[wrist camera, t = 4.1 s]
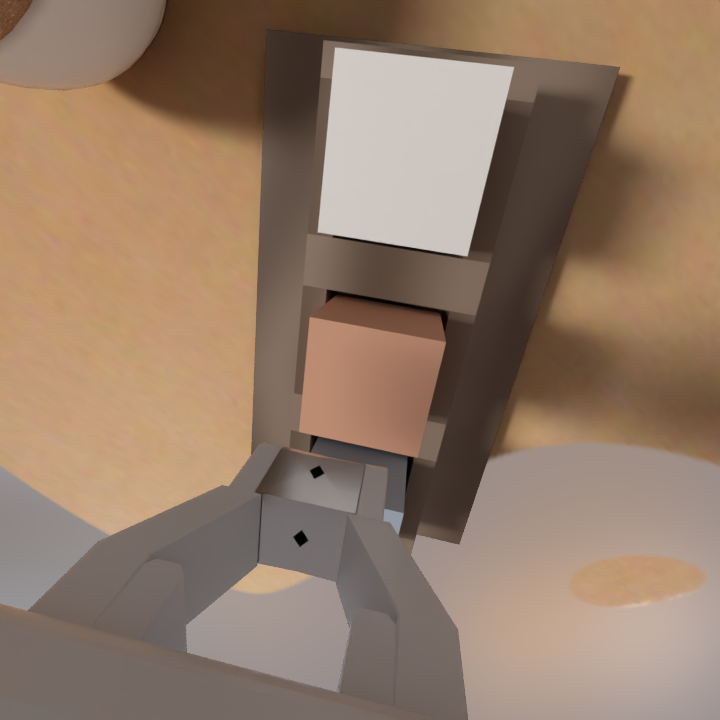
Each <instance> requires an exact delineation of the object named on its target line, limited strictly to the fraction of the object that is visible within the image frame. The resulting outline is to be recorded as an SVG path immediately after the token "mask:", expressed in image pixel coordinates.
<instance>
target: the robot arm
mask: <svg viewBox="0 0 720 720" xmlns="http://www.w3.org/2000/svg"><path fill="white" fill-rule="evenodd" d="M364 471H365V472H364ZM387 479H388V469H387V468H385V467H380V466H374V465H369V464H366V467H365V465H364V464H360V463H355V462H350V461H345V460H340V459H335V458H330V457H325V456H323V455H318V454H314V453H310V452H306V451H301V450H297V449H293V448H288V447H282V446H279V445H275V444H270V443H265V442H263V443H261V444H259V445H258V447H257V448H256V449H255V451H254V452H253V454H252V455H251V456H250V458H249V459H248V461H247V462H246V463H245V465H244V466H243V467H242V469H241V470H240V472H239V473H238V474H237V476H236V477H235V479H234V480H233V481H232V483H231V484H230V485H229V487H228V486H223V485H222V486H220V487H217V488H215V489H213V490H211V491H208V492H206V493H204V494H202V495H200V496H197V497H195V498H193V499H191V500H189V501H186V502H184V503H182V504H180V505H178V506H175V507H173V508H171V509H169V510H166V511H164V512H162V513H160V514H158V515H155V516H153V517H151V518H149V519H147V520H144V521H142V522H140V523H138V524H136V525H133V526H131V527H129V528H127V529H124V530H122V531H120V532H118V533H116V534H113V535H111V536H109V537H107V538H105V539H102V540H100V541H98V542H97V543H96V544H95V545H94V546H93V547H92V548H91V549H90V550H89V551H88V552H87V553H86V554H85V555H84V556H83V557H82V558H81V559H80V560H79V561H78V562H77V563H76V564H75V565H74V566H73V567H72V568H71V569H70V570H69V571H68V572H67V573H66V574H64V576H62V577H61V578H60V580H59V581H57V582H56V584H54V585H53V586H52V587H51V588H50V589H49V590H48V591H47V592H46V593H45V594H44V595H43V596H42V597H41V598H40V599H39V600H38V601H37V602H36V603H35V604H34V605H33V606H32V607H31V608H30V609H29V610H28V611H26V610H22V609H18V608H15V607H11V606H7V605H3V604H0V720H468V714H467V706H466V697H465V688H464V680H463V670H462V661H461V654H460V653H461V652H460V643H459V635H458V629H457V627H456V626H455V624H454V623H453V621H452V619H451V618H450V616H449V615H448V613H447V611H446V610H445V609H444V607H443V605H442V604H441V602H440V600H439V599H438V597H437V596H436V594H435V593H434V591H433V589H432V588H431V586H430V585H429V583H428V582H427V580H426V578H425V577H424V575H423V574H422V572H421V571H420V569H419V567H418V566H417V564H416V563H415V561H414V560H413V558H412V556H411V555H410V553H409V552H408V550H407V548H406V547H405V545H404V544H403V542H402V541H401V539H400V537H399V536H398V534H397V533H396V531H395V530H394V528H393V526H392V525H391V523H390V522H386V521H383V518H384V509H385V499H386V489H387ZM257 563H259V564H264V565H269V566H274V567H279V568H283V569H288V570H293V571H298V572H301V573H305V574H309V575H313V576H316V577H320V578H324V579H327V580H331V581H335V582H336V585H337V589H338V592H339V596H340V599H341V602H342V605H343V608H344V611H345V615H346V618H347V621H348V624H349V628H350V631H349V636H348V641H347V646H346V651H345V655H344V660H343V665H342V670H341V674H340V679H339V684H338V689H337V692H335V691H331V690H327V689H323V688H319V687H316V686H311V685H308V684H304V683H300V682H296V681H293V680H289V679H285V678H281V677H277V676H273V675H270V674H266V673H262V672H258V671H255V670H251V669H247V668H243V667H239V666H236V665H232V664H227V663H224V662H220V661H216V660H212V659H208V658H205V657H201V656H197V655H194V654H190V653H187V648H186V647H187V645H186V625H187V624H188V623H189V622H190V621H191V620H193V619H194V618H195V617H196V616H197V615H199V614H200V613H201V612H202V611H203V610H205V609H206V608H207V607H208V606H209V605H211V604H212V603H213V602H214V601H215V600H217V599H218V598H219V597H220V596H221V595H223V594H224V593H225V592H226V591H227V590H229V589H230V588H231V587H232V586H233V585H235V584H236V583H237V582H238V581H239V580H241V579H242V578H243V577H244V576H245V575H247V574H248V573H249V572H250V571H251V570H253V569H254V568H255V567H256V566H257Z"/></svg>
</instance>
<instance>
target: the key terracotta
mask: <svg viewBox="0 0 720 720" xmlns="http://www.w3.org/2000/svg"><path fill="white" fill-rule="evenodd" d="M445 345H446V339H445V334H444V330H443V325H442V320H441V315H440V313H437V312H431V311H426V310H420V309H414V308H409V307H403V306H398V305H392V304H386V303H381V302H375V301H369V300H364V299H358V298H353V297H347V296H341V295H336V296H335V297H333V298H332V299H331V300H330V301H329V302H327V303H326V304H325V305H324V306H322V307H321V308H320V309H319V310H318V311H316V312H315V313H314V314H313V315H311V316H310V319H309V330H308V341H307V351H306V362H305V373H304V383H303V394H302V405H301V415H300V426H299V432H301V433H306V434H310V435H315V436H320V437H324V438H329V439H333V440H338V441H343V442H347V443H352V444H356V445H361V446H365V447H370V448H375V449H379V450H384V451H388V452H393V453H397V454H402V455H407V456H411V457H416V458H418V454H419V450H420V446H421V442H422V438H423V434H424V430H425V426H426V422H427V418H428V414H429V410H430V406H431V402H432V398H433V393H434V389H435V385H436V381H437V377H438V373H439V369H440V365H441V361H442V357H443V353H444V349H445Z"/></svg>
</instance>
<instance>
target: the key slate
mask: <svg viewBox="0 0 720 720" xmlns="http://www.w3.org/2000/svg"><path fill="white" fill-rule="evenodd" d="M311 453H314V454H318V455H323V456H325V457H330V458H335V459H340V460H345V461H350V462H355V463H360V464H364V465H365V467H366V464H369V465H374V466H380V467H385V468H387V469H388V479H387V489H386V499H385V509H384V518H383V521H386V522H390V523H391V525H392V526H393V528H394V530H395V531H396V533H397V534H398V535H399V531H400V527H401V523H402V519H403V515H404V503H405V486H406V470H407V455H402V454H397V453H393V452H388V451H384V450H379V449H375V448H370V447H365V446H361V445H356V444H352V443H347V442H343V441H338V440H333V439H329V438H324V437H320V436H319V437H318V439H317V441H316V443H315V445H314V447H313V449H312V451H311ZM364 472H365V471H364Z"/></svg>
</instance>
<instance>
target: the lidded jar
mask: <svg viewBox="0 0 720 720" xmlns="http://www.w3.org/2000/svg"><path fill="white" fill-rule="evenodd" d="M166 2H167V0H0V83H3V84H8V85H13V86H18V87H23V88H33V89H45V90H62V91H67V90H74V89H81V88H87V87H92V86H97V85H100V84H102V83H104V82H107V81H109V80H112V79H113V78H115V77H117V76H119V75H120V74H122V73H123V72H125V71H126V70H127V69H129V68H130V67H131V66H132V65H133V64H134V63H135V62H136V61H137V60H138V59H139V58H140V57H141V56H142V55H143V53H144V52H145V50H146V48H147V47H148V46H149V45H150V44H151V42H152V41H153V39H154V38H155V36H156V35H157V32H158V30H159V28H160V26H161V23H162V20H163V16H164V13H165V9H166Z"/></svg>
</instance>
